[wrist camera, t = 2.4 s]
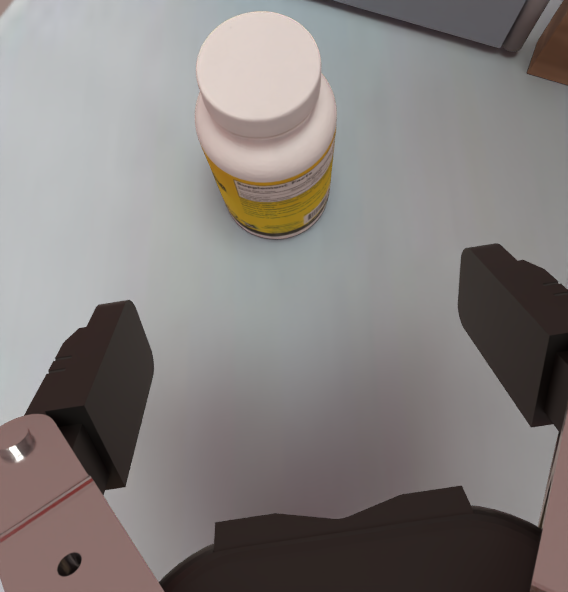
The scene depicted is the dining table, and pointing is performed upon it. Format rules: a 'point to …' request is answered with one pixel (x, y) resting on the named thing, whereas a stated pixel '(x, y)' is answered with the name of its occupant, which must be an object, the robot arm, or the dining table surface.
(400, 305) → the dining table surface
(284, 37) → the pill bottle
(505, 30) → the gate
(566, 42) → the wooden blocks
